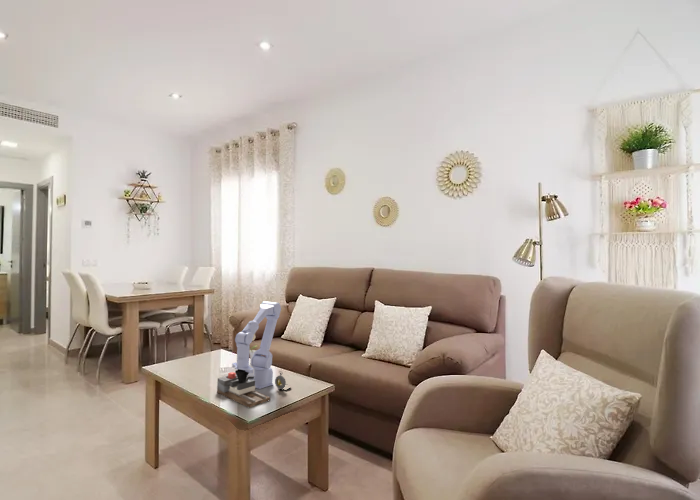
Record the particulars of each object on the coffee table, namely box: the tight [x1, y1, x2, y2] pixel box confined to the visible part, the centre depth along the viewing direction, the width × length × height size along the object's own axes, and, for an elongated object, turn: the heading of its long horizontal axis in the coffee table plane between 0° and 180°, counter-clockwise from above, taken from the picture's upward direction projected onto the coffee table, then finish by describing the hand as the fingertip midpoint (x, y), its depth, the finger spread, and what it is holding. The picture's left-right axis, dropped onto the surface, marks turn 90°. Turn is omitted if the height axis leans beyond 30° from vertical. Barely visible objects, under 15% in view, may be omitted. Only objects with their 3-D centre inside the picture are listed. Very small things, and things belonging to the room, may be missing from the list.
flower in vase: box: [247, 333, 258, 378], centre depth 213 cm, size 13×11×25 cm
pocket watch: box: [274, 370, 290, 390], centre depth 194 cm, size 8×8×10 cm
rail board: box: [216, 375, 271, 408], centre depth 182 cm, size 12×26×7 cm, turn 51°
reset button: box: [227, 371, 236, 379], centre depth 188 cm, size 4×4×4 cm
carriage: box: [230, 377, 256, 395], centre depth 182 cm, size 9×8×4 cm
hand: (241, 384), depth 183 cm, fingers closed
